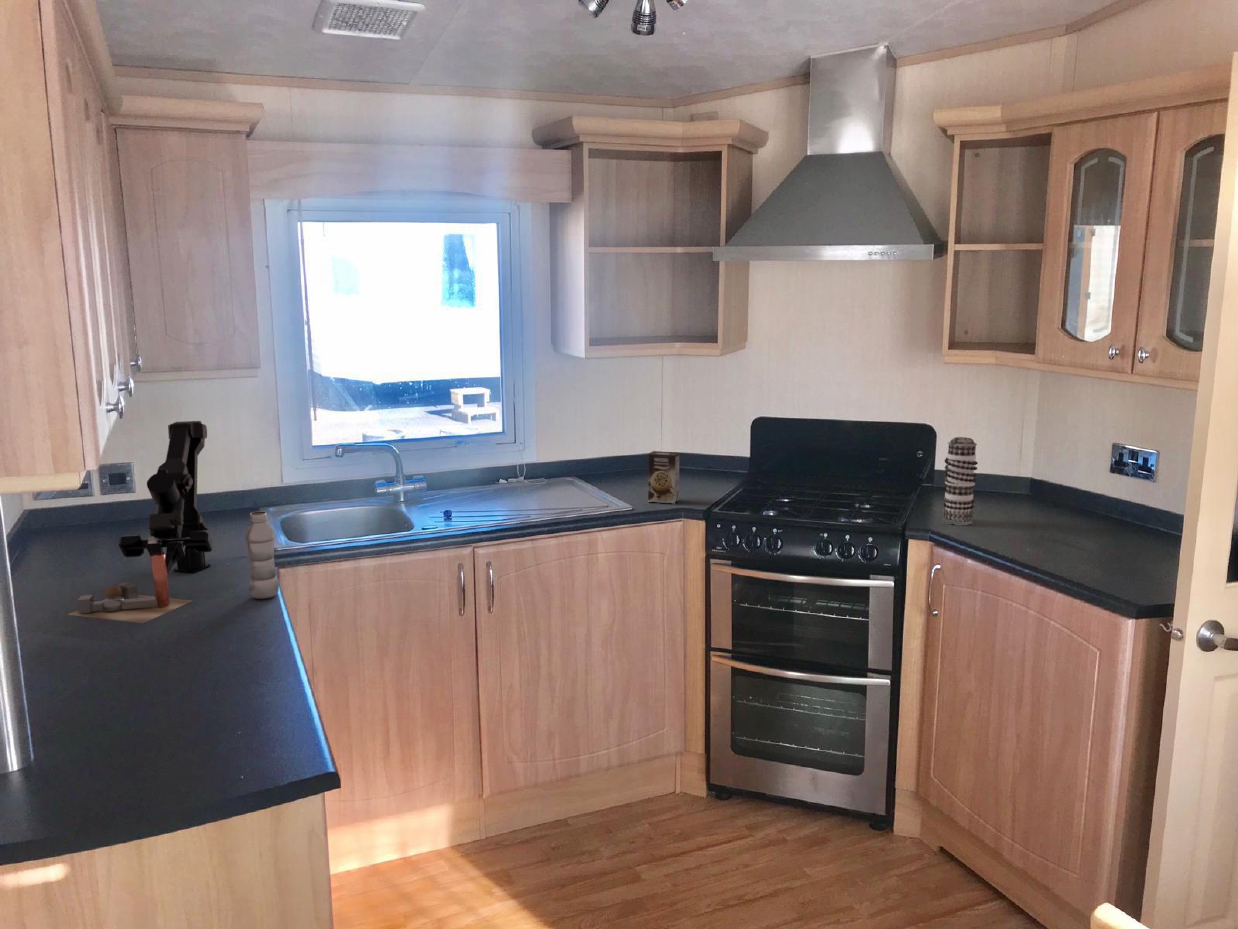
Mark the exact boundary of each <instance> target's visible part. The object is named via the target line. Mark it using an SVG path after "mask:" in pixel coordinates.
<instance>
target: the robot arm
mask: <svg viewBox="0 0 1238 929" xmlns="http://www.w3.org/2000/svg"><path fill="white" fill-rule="evenodd" d="M207 428H208V427H207V425H206V424H204V423H202V421H201V420H192V421H189V420H187V421H184V420H183V421H175V422H173V423H170V424H168V425H167V429H168V433H167V434H168V446H167V452H166V458H165V462H164V463H162V464H161V465H159V466H158V468H157V471H156V473H155V474H154V473H153V474H152V475H151V476H150V477H149V478H148V480H147V481H146V487H147V490H148V492H149V494H150V497H151V498H152V501H153V503H154V504H155V505H156V508H155V509H156V510H155V513H151V514H148V523H147V524H148V525H147V526H148V527H147V528H148V530H150V532H149V535H150V537H147V539H142V538H141V535H140V534H138V533H137V534H123V535H122V536H120V538H119V540H118V547H119V549H120V551H121V553H122V554H123V556H124V557H125V558H137V557H142V555H144V553H145V550H147V552H148V554H149V556H150V558H151V555H153V554H159V553H163V554H165V553H166V554H165V558H166V568H167V575H169V573H170V571H171V570H172V571H174V572H182V573H193V574H194V573H197V572H199V571H201V570H202V571H203V570H204V569H206V568H209V567H211V566H212V565H211V563H206V553H211V552H212V551H213V540H212V537H211V534H210V532H209V529H208V527H207V525H206V523H205V522H204V518H203V516H202V515H201V514H200V512H199V510H198V508H197V507H198V460H199V459H198V458H199V455H200V453H201V452H202V450H203V449H204V448H205V442H206V439H207V437H208V429H207ZM165 548H166V552H164V549H165ZM175 564H176V567H174V565H175ZM173 567H174V568H173ZM172 568H173V569H172Z"/></svg>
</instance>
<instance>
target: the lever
mask: <svg viewBox="0 0 1238 929" xmlns="http://www.w3.org/2000/svg"><path fill="white" fill-rule="evenodd" d="M165 557H166V554H165V553H164V554H163V553H159V554H153V555H151V557H150V560H151V567H152V576H153V577H152V578H153V585H154V586H153V587H154V589H153V590H154V597H147V598H134V599H124V597H110V598H103V600H98V601H95V600H94V595H93V594H86V595H80V596H79V598H78V599H76V601H77V602H76V603H77V610H78V613H89V612H93V611H105V612H114V611H119V610H122V609H134V608H147V607H164V606H168V605H170V589H169V580H168V574H167V568H166V558H165Z"/></svg>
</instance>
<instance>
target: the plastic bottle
mask: <svg viewBox="0 0 1238 929" xmlns="http://www.w3.org/2000/svg"><path fill="white" fill-rule="evenodd" d="M267 521H268V514H267V511H263V510H262V511H261V510H260V511H259V510H258V511H253V512H250V513H249V522H250V523H251V524H250V525H249V527H248V529H247V530H246V533H245V536H244V537H245V543H246V546H247V550H248V558H249V564H250V565H249V566H250V569H249V570H250V576H249V586H248V589H249V591H250V592H249V593H250V595H251V596H252V597H253V598H255V599H260V600H262V599H263V600H264V599H271V598H272V597H273V598H274V597H275V596H277V594H278V593H279V588H280V586H279V585H280V583H279V580H278V576H277V571H276V566H275V551H274V550H275V538H276V537H275V535H276V534H275V531H274V529H273V528H272V527H271V525H270V524H268V523H267Z"/></svg>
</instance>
